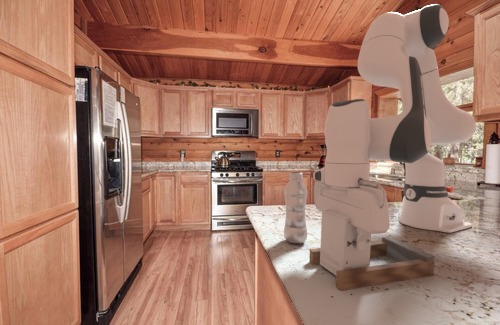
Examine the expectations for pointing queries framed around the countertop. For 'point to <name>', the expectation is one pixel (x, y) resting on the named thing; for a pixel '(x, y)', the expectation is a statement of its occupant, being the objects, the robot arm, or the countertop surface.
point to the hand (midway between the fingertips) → (345, 240)
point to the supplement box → (341, 244)
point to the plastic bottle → (295, 209)
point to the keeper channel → (384, 265)
